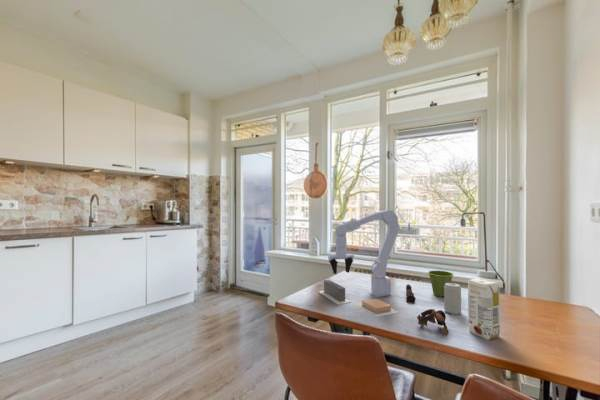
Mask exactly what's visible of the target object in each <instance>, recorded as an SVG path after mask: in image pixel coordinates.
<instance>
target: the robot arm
mask: <svg viewBox="0 0 600 400" xmlns="http://www.w3.org/2000/svg"><path fill="white" fill-rule="evenodd" d="M374 221H383V222H384V223H385V224H386V227H387V229H388V230H387V231H386V232H387V233H386V235H385V238H384V241H383V243H382V244H381V245H382V246H381V249H380V250H379V253H378V256H377V258H376V259H375V261H374V262H373V263H372V264H371V266H370V267H371V268H370V269H371V272H372V274H371V275H370V280H371V281H370V283H371V286H370V287H371V288H370V290H369V291H367V293H368V294H370V295H373V296H374V297H376V298H379V297H385V296H392V295H393V293H392V286H391V285H392V283H391V279H390V277H389V276H387V270H386V269H387V265H388V260H389V258H390V256H391V255H390V254H391V253H392V250H393V248H394V247H393V246H394V245H395V242H396V240H397V237H398V234H399V231H400V225H399V219H398V215H397V214H396V212H395V211H394V210H392V209H384V210H380V211H376V212H374V213H371V214H368V215H366V216H364V217H362V218H360V219H358V218H353V217H352V218H350V220H348V221H343V222H342V223H340V224H338V225H336V227H335V233H336V234H335V254H333V255H328V258H327V259H328V262H329V264H330V266H331V268H332V271H333V274H335V275H337V273H338V271H337V270H338V262H339V261H337V260H344V263H345V272H346V273H347V274H348V273H350V270H351V266H352V264H353V262H354V258H355V255H354V254H352V253H350V254H348V253H347V250H348V249H347V243H348V242H347V233H351V232H354V231H357V230H359V229H360V228H361V227H362V225H366V224H368V223H370V222H374Z"/></svg>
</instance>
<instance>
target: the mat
mask: <svg viewBox="0 0 600 400" xmlns="http://www.w3.org/2000/svg"><path fill="white" fill-rule="evenodd" d="M355 305H356V306H357V307H359V308H361V309H362V310H364V311H366V312H368V313H370V314H372V316H374V317H380V316H387V315H392V314H398V313H399V311H398V310H397V309H394V308H393V307H391V310H390V311H384V312H378V313H375V312H373V311H372V310H370V309H368V308H366V307H365V306H363V305H362V302H357V303H355Z"/></svg>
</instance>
